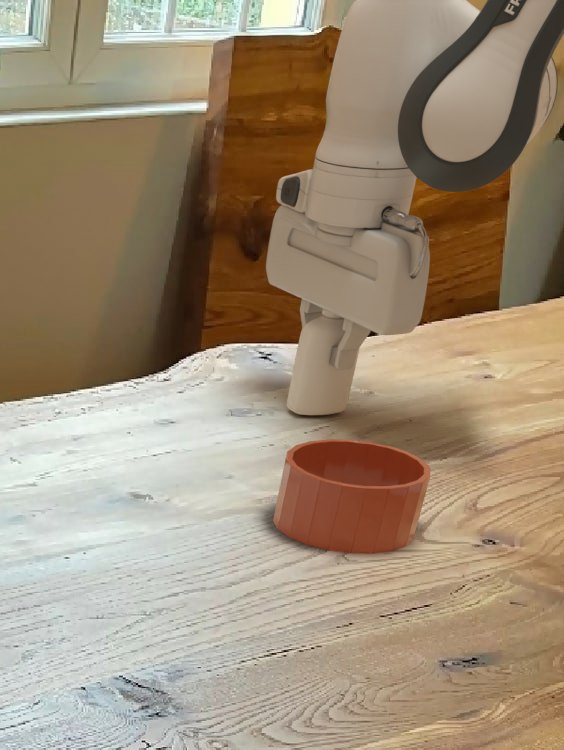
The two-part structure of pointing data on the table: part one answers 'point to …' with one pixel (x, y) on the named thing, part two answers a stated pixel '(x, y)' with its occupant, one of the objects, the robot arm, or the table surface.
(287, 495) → the cup
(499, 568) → the table surface
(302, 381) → the eye dropper bottle
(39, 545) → the table surface
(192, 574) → the table surface
